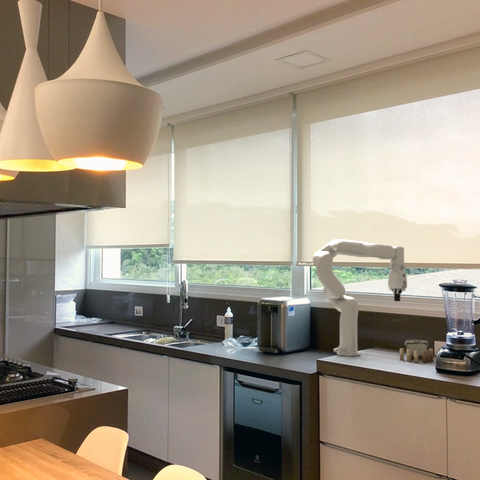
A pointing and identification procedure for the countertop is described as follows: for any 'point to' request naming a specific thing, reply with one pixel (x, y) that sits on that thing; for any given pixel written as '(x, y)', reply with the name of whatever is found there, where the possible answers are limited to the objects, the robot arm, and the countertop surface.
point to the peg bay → (426, 355)
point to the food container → (416, 347)
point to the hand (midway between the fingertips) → (397, 301)
